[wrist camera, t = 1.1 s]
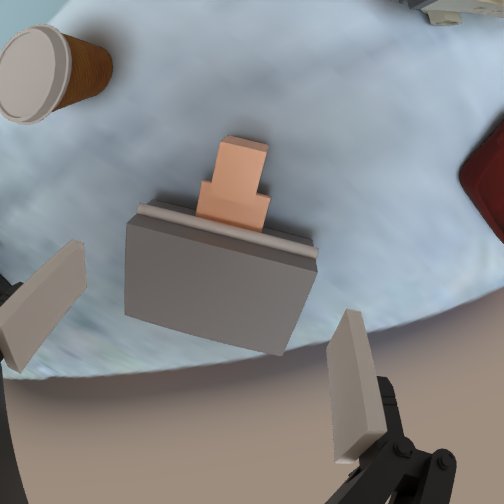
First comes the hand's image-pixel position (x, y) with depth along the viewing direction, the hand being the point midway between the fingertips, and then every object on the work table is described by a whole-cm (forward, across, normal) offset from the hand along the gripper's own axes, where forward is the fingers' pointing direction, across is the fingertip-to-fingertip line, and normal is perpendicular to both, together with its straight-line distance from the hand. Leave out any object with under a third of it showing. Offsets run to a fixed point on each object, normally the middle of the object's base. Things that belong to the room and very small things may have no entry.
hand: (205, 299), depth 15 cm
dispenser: (+21, -1, -11) cm, 24 cm away
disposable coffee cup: (+22, -21, +9) cm, 31 cm away
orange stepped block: (+19, -1, -4) cm, 20 cm away
